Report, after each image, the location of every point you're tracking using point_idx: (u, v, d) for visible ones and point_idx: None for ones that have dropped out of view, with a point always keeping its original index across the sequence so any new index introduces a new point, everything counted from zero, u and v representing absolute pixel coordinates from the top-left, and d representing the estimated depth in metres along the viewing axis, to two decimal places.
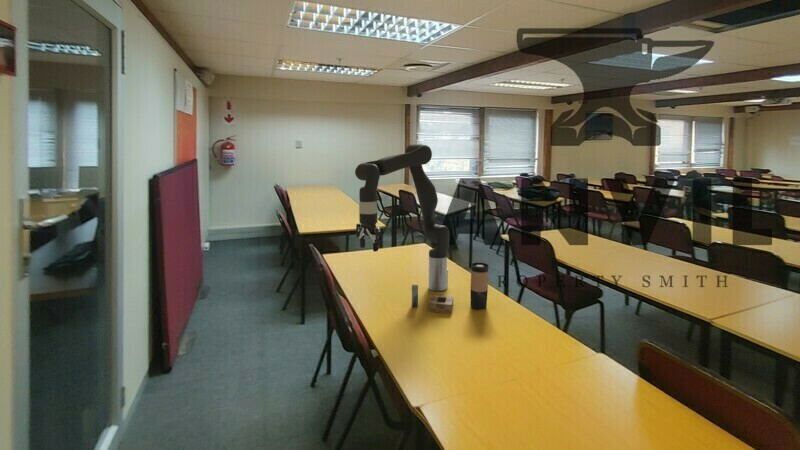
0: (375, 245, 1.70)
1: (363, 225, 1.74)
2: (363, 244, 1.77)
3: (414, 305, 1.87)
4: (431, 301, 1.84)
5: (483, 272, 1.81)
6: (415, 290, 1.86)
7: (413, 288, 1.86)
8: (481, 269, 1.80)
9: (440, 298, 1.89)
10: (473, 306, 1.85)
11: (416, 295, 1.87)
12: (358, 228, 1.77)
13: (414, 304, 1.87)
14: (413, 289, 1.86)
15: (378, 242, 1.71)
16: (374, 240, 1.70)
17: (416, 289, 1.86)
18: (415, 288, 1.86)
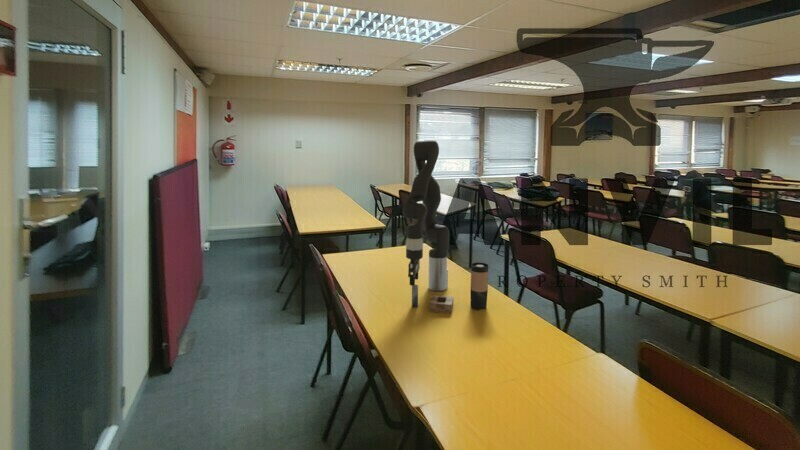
0: None
1: (415, 261, 1.82)
2: None
3: (414, 305, 1.87)
4: (431, 301, 1.84)
5: (483, 272, 1.81)
6: (415, 290, 1.86)
7: (413, 288, 1.86)
8: (481, 269, 1.80)
9: (440, 298, 1.89)
10: (473, 306, 1.85)
11: (416, 295, 1.87)
12: (413, 268, 1.79)
13: (414, 304, 1.87)
14: (413, 289, 1.86)
15: None
16: (418, 268, 1.90)
17: (416, 289, 1.86)
18: (415, 288, 1.86)
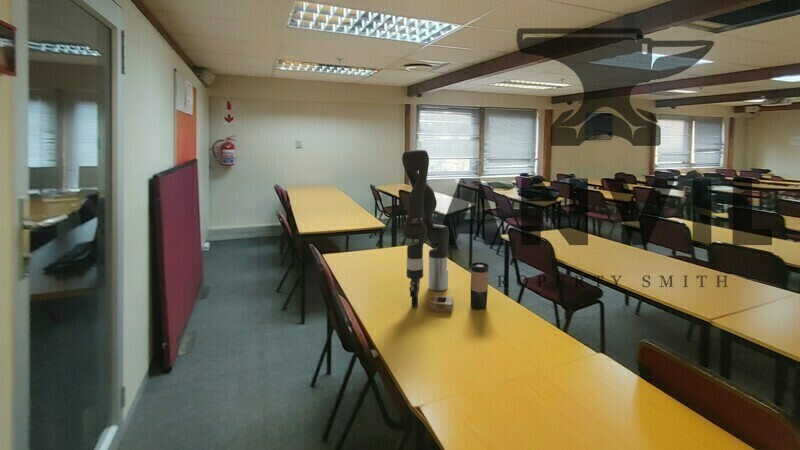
0: None
1: (416, 281, 1.84)
2: None
3: (414, 305, 1.87)
4: (431, 301, 1.84)
5: (483, 272, 1.81)
6: None
7: None
8: (481, 269, 1.80)
9: (440, 298, 1.89)
10: (473, 306, 1.85)
11: None
12: None
13: None
14: None
15: None
16: None
17: (416, 289, 1.86)
18: None
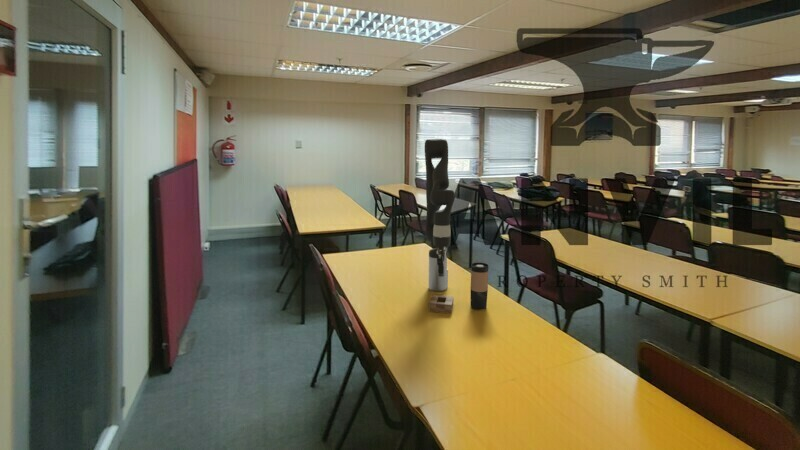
0: None
1: (443, 248, 1.79)
2: None
3: (440, 274, 1.82)
4: (431, 301, 1.84)
5: (483, 272, 1.81)
6: None
7: None
8: (481, 269, 1.80)
9: (440, 298, 1.89)
10: (473, 306, 1.85)
11: None
12: None
13: None
14: None
15: None
16: None
17: None
18: None
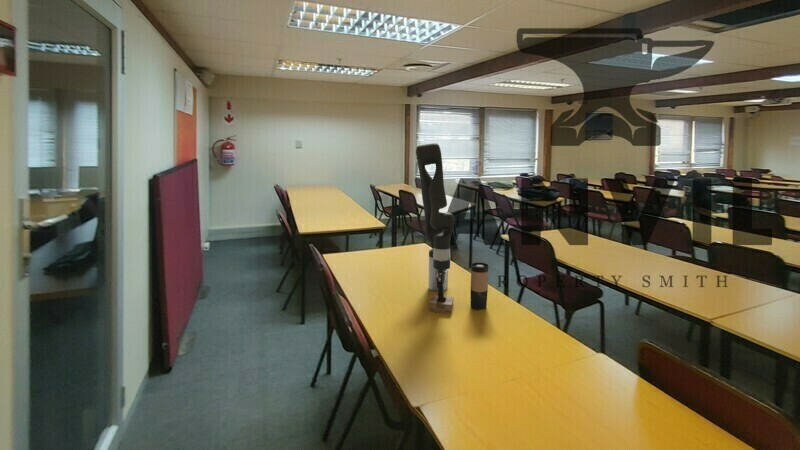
0: None
1: (443, 272, 1.81)
2: None
3: (440, 297, 1.84)
4: (431, 301, 1.84)
5: (483, 272, 1.81)
6: None
7: None
8: (481, 269, 1.80)
9: None
10: (473, 306, 1.85)
11: None
12: None
13: (440, 296, 1.84)
14: None
15: None
16: (444, 282, 1.87)
17: None
18: None
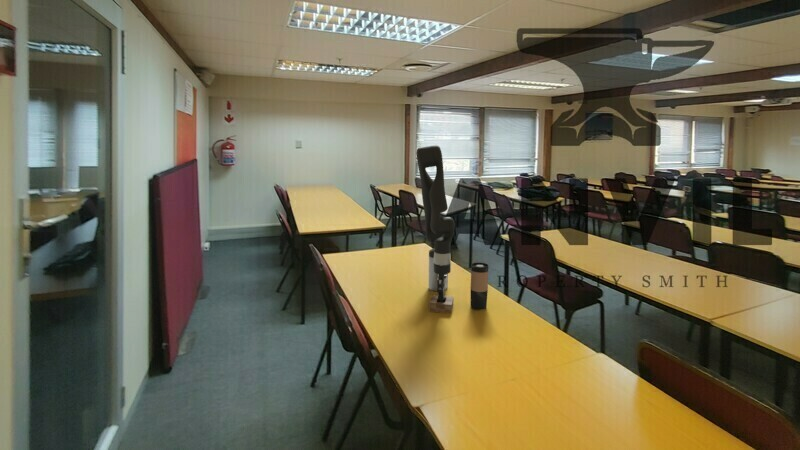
0: None
1: (444, 276, 1.81)
2: None
3: None
4: (431, 301, 1.84)
5: (483, 272, 1.81)
6: None
7: None
8: (481, 269, 1.80)
9: None
10: (473, 306, 1.85)
11: (443, 297, 1.85)
12: (442, 283, 1.78)
13: None
14: None
15: None
16: (445, 283, 1.89)
17: None
18: None
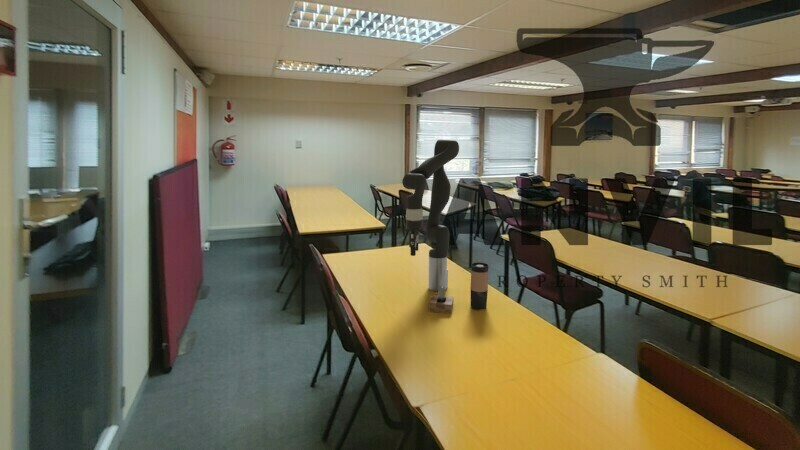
0: None
1: (416, 232, 1.84)
2: None
3: None
4: (431, 301, 1.84)
5: (483, 272, 1.81)
6: (442, 291, 1.84)
7: (440, 289, 1.84)
8: (481, 269, 1.80)
9: None
10: (473, 306, 1.85)
11: (443, 297, 1.85)
12: (414, 238, 1.81)
13: None
14: (440, 291, 1.84)
15: None
16: (418, 239, 1.92)
17: (443, 290, 1.84)
18: (442, 289, 1.84)
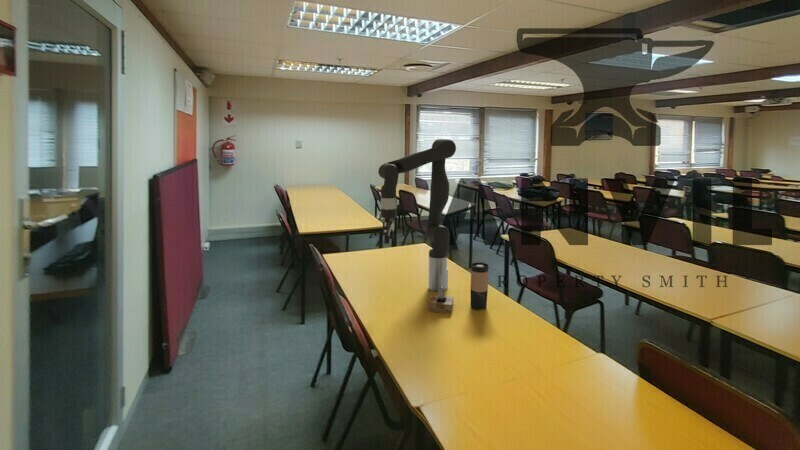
0: None
1: (390, 220, 1.90)
2: None
3: None
4: (431, 301, 1.84)
5: (483, 272, 1.81)
6: (441, 291, 1.84)
7: (440, 289, 1.84)
8: (481, 269, 1.80)
9: None
10: (473, 306, 1.85)
11: (443, 297, 1.85)
12: None
13: None
14: (440, 291, 1.84)
15: (390, 230, 1.98)
16: (393, 228, 1.98)
17: (443, 290, 1.84)
18: (442, 289, 1.84)
